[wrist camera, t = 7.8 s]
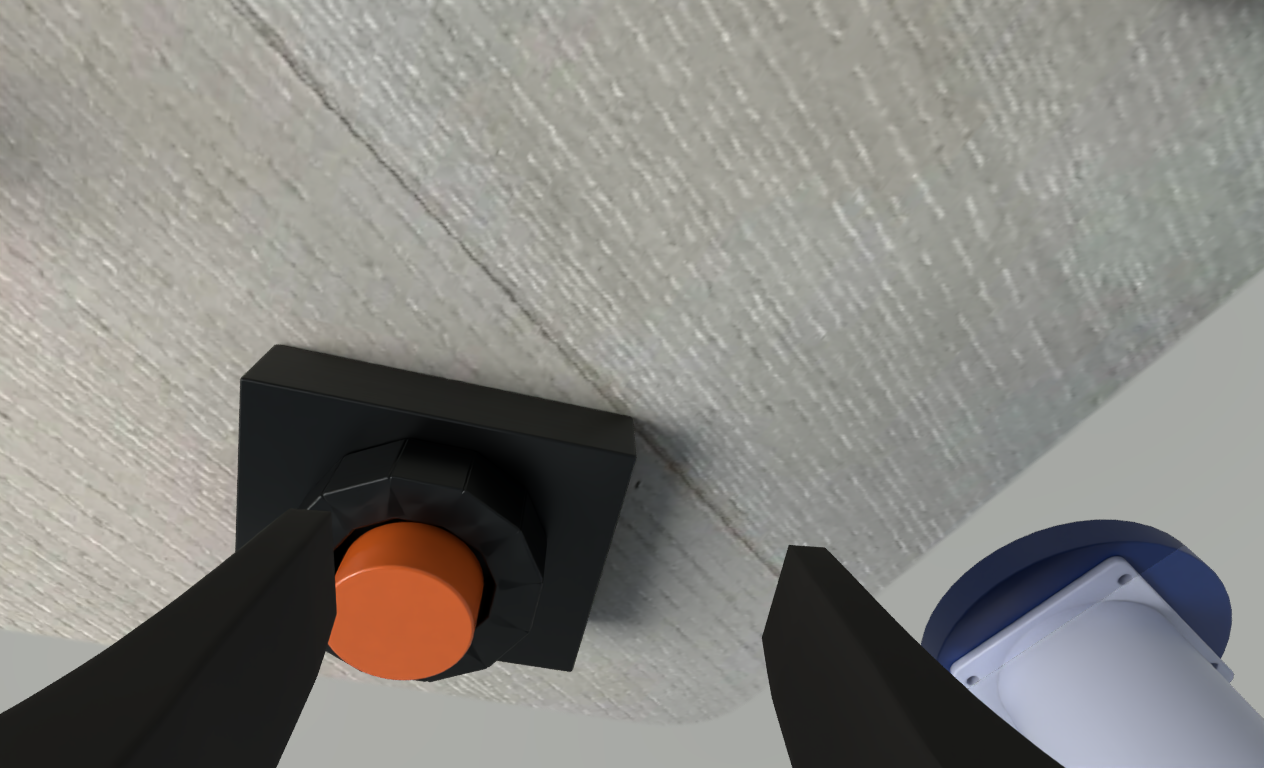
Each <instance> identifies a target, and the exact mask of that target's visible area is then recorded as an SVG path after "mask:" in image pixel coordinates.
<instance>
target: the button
mask: <svg viewBox="0 0 1264 768" xmlns="http://www.w3.org/2000/svg"><path fill="white" fill-rule="evenodd" d="M335 586H336V604H337V615H336V618H335V622H334V625H333V628H332V631H331V635H330V638H329V641H328V644H329V646H330V647H331V648H332V650H333V651H334V652H335V653H336V654H337V655H338V656H339V657H340V658H341V659H343V660H344V661H345V662H346V663H348V664H349V665H351V666H353V667H354V668H356V669H358V670H360V671H362V672H365V673H367V674H370V675H373V676H377V677H380V678H385V679H392V680H416V679H422V678H427V677H431V676H434V675H437V674H439V673H441V672H444V671H445V670H447V669H449V668H451V667H452V666H453V665H455V664H456V663H457V662H458V661H459V660H460V659H461V658H462V657H463V656H464V655H465V653H466V652H467V651H468V649H469V647H470V645H471V643H472V640H473V637H474V632H475V627H476V622H477V618H478V613H479V608H480V603H481V598H482V593H483V587H484V577H483V572H482V568H481V566H480V563H479V561H478V559H477V557H476V556H475V554H474V553H473V551H472V550H471V549H470V548H469V547H468V546H467V545H466V544H465V543H464V542H463V541H462V540H461V539H459V538H458V537H457V536H455V535H453V534H452V533H450V532H448V531H446V530H444V529H442V528H439V527H436V526H433V525H429V524H425V523H419V522H394V523H389V524H384V525H381V526H378V527H376V528H373V529H371V530H369V531H367V532H366V533H364V534H363V535H361V536H360V537H359V538H358V539H356V540H355V541H354V542H353V543H352V545H351V546H350V547H349V548H348V550H347V552H346V553H345V556H344V558H343V560H342V562H341V564H340V566H339V568H338V570H337V572H336V574H335Z"/></svg>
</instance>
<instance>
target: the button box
mask: <svg viewBox="0 0 1264 768" xmlns="http://www.w3.org/2000/svg"><path fill="white" fill-rule="evenodd" d="M636 458H637V457H636V446H635V434H634V423H633V418H631V417H627V416H623V415H618V414H613V413H608V412H603V411H598V410H593V409H589V408H584V407H579V406H574V405H569V404H564V403H559V402H555V401H550V400H545V399H540V398H535V397H530V396H525V395H521V394H516V393H511V392H506V391H501V390H496V389H491V388H487V387H482V386H477V385H472V384H467V383H462V382H457V381H453V380H448V379H443V378H438V377H433V376H428V375H423V374H419V373H414V372H409V371H404V370H399V369H394V368H389V367H385V366H380V365H375V364H370V363H365V362H360V361H355V360H351V359H346V358H341V357H336V356H331V355H326V354H321V353H317V352H312V351H307V350H302V349H297V348H292V347H287V346H283V345H274V346H273V347H272V348H271V349H270V350H269V351H268V352H267V353H266V354H265V355H264V356H263V357H262V358H261V359H260V360H259V361H258V362H257V363H256V364H255V365H254V366H253V367H252V368H251V369H250V370H249V371H248V372H247V373H245V374H244V375H243V376H242V377H241V379H240V409H239V444H238V478H237V513H236V548H235V552H236V551H238V550H239V549H240V548H241V547H242V546H244V545H245V544H246V543H247V542H249V541H250V540H251V539H252V538H253V537H255V536H256V535H257V534H258V533H260V532H261V531H262V530H263V529H264V528H266V527H267V526H268V525H269V524H271V523H272V522H273V521H274V520H276V519H277V518H278V517H279V516H281V515H282V514H283V513H285V512H286V511H287V510H289V509H304V510H317V511H331V514H332V532H333V550H334V568H335V574H336V572H337V570H338V568H339V566H340V564H341V562H342V560H343V558H344V556H345V553H346V552H347V550H348V548H349V547H350V546H351V545H352V543H353V542H354V541H355V540H356V539H358V538H359V537H360V536H361V535H363V534H364V533H366V532H367V531H369V530H371V529H373V528H376V527H378V526H381V525H384V524H389V523H394V522H419V523H425V524H429V525H433V526H436V527H439V528H442V529H444V530H446V531H448V532H450V533H452V534H453V535H455V536H457V537H458V538H459V539H461V540H462V541H463V542H464V543H465V544H466V545H467V546H468V547H469V548H470V549H471V550H472V551H473V553H474V554H475V556H476V557H477V559H478V561H479V563H480V566H481V568H482V572H483V577H484V587H483V593H482V598H481V603H480V608H479V613H478V618H477V622H476V627H475V632H474V637H473V640H472V643H471V645H470V647H469V649H468V651H467V652H466V653H465V655H464V656H463V657H462V658H461V659H460V660H459V661H458V662H457V663H456V664H455V665H453V666H452V667H451V668H449V669H447V670H445V671H444V672H441V673H439V674H437V675H434V676H431V677H427V678H422V679H416V681H423V682H426V681H428V682H433V681H437V680H441V679H445V678H449V677H454V676H458V675H462V674H466V673H470V672H474V671H479V670H483V669H486V668H487V667H490V666H491V665H492V664H493V663H495V662H496V661H502V662H508V663H515V664H521V665H528V666H535V667H541V668H548V669H554V670H561V671H567V672H571V671H572V670H573V667H574V664H575V661H576V657H577V654H578V651H579V647H580V644H581V641H582V637H583V634H584V631H585V627H586V624H587V621H588V617H589V614H590V611H591V607H592V604H593V601H594V597H595V594H596V591H597V588H598V584H599V581H600V578H601V574H602V571H603V568H604V564H605V561H606V558H607V554H608V551H609V548H610V544H611V541H612V538H613V534H614V531H615V528H616V524H617V521H618V518H619V514H620V511H621V508H622V504H623V501H624V498H625V494H626V491H627V488H628V484H629V481H630V478H631V474H632V471H633V468H634V465H635V461H636ZM326 652H328V653H330V654H332V655H333V656H335V657H337V658H339V659H340V660H342V661H344V660H343V659H341V658H340V657H339V656H338V655H337V654H336V653H335V652H334V651H333V650H332V648H331V647H330V646H329V644H328V645H327V648H326ZM344 662H345V661H344ZM345 663H346V662H345ZM347 664H348V663H347ZM352 667H353V666H352ZM359 671H360V670H359ZM361 672H362V671H361Z"/></svg>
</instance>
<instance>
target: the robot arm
mask: <svg viewBox="0 0 1264 768" xmlns="http://www.w3.org/2000/svg"><path fill="white" fill-rule="evenodd" d="M336 615H337V604H336V586H335V568H334V550H333V532H332V514H331V511H317V510H304V509H289V510H287V511H286V512H285V513H283V514H282V515H281V516H279V517H278V518H277V519H276V520H274V521H273V522H272V523H271V524H269V525H268V526H267V527H266V528H264V529H263V530H262V531H261V532H260V533H258V534H257V535H256V536H255V537H253V538H252V539H251V540H250V541H249V542H247V543H246V544H245V545H244V546H242V547H241V548H240V549H239V550H238V551H236V552H235V553H234V554H233V555H231V556H230V557H229V558H228V559H226V560H225V561H224V562H223V563H221V564H220V565H219V566H218V567H216V568H215V569H214V570H213V571H211V572H210V573H209V574H208V575H206V576H205V577H204V578H202V579H201V580H200V581H199V582H197V583H196V584H195V585H193V586H192V587H191V588H190V589H188V590H187V591H186V592H184V593H183V594H182V595H181V596H179V597H178V598H177V599H175V600H174V601H173V602H171V603H170V604H169V605H167V606H166V607H165V608H163V609H162V610H161V611H159V612H158V613H156V614H155V615H154V616H152V617H151V618H149V619H148V620H147V621H145V622H144V623H142V624H141V625H140V626H138V627H137V628H135V629H134V630H133V631H131V632H130V633H128V634H127V635H126V636H124V637H123V638H121V639H120V640H119V641H117V642H116V643H114V644H113V645H111V646H110V647H109V648H107V649H106V650H104V651H103V652H101V653H100V654H98V655H97V656H95V657H94V658H92V659H90V660H89V661H87V662H86V663H84V664H83V665H81V666H79V667H78V668H76V669H75V670H73V671H72V672H70V673H68V674H67V675H65V676H63V677H62V678H60V679H59V680H57V681H55V682H54V683H52V684H50V685H49V686H47V687H45V688H44V689H42V690H41V691H39V692H37V693H36V694H34V695H32V696H31V697H29V698H27V699H26V700H24V701H22V702H20V703H19V704H17V705H15V706H14V707H12V708H10V709H8V710H7V711H5V712H3V713H1V714H0V768H276V767H277V765H278V763H279V760H280V758H281V756H282V754H283V752H284V749H285V747H286V745H287V743H288V741H289V738H290V736H291V734H292V732H293V730H294V727H295V725H296V723H297V721H298V719H299V716H300V714H301V712H302V709H303V707H304V705H305V703H306V701H307V698H308V696H309V694H310V692H311V689H312V687H313V685H314V683H315V680H316V678H317V676H318V673H319V670H320V666H321V663H322V660H323V657H324V654H325V651H326V648H327V645H328V641H329V638H330V635H331V631H332V628H333V625H334V622H335V618H336ZM762 642H763V648H764V655H765V661H766V668H767V674H768V679H769V685H770V690H771V696H772V700H773V704H774V707H775V711H776V714H777V718H778V721H779V724H780V728H781V731H782V734H783V738H784V741H785V745H786V748H787V752H788V755H789V758H790V761H791V765H792V768H1264V719H1263V718H1262V717H1261V716H1260V715H1259V714H1258V713H1257V712H1256V710H1255V709H1254V708H1253V707H1252V706H1251V705H1250V704H1249V703H1248V702H1247V701H1246V700H1245V699H1244V698H1243V697H1242V696H1241V695H1240V694H1239V693H1238V692H1237V691H1236V690H1235V689H1234V688H1233V687H1232V686H1231V684H1230V682H1231V681H1232V680H1233V677H1234V673H1233V671H1232V670H1231V669H1229V668H1228V666H1227V665H1226V664H1225V663H1224V662H1223V661H1222V660H1221V659H1220V658H1219V657H1218V656H1217V655H1216V654H1215V653H1214V652H1213V651H1212V649H1211V648H1210V647H1209V646H1208V645H1207V644H1206V643H1205V642H1204V641H1203V640H1202V639H1201V638H1200V637H1199V636H1198V635H1197V634H1196V633H1195V632H1194V631H1193V630H1192V629H1191V628H1190V627H1189V626H1188V624H1187V623H1186V622H1185V621H1184V620H1183V619H1182V618H1181V617H1180V616H1179V615H1178V614H1177V613H1176V612H1175V611H1174V610H1173V609H1172V608H1171V607H1170V606H1169V605H1168V604H1167V603H1166V602H1165V601H1164V599H1163V598H1162V597H1161V596H1160V595H1159V594H1158V593H1157V592H1156V591H1155V590H1154V589H1153V588H1152V587H1151V586H1150V585H1149V584H1148V583H1147V582H1146V581H1145V580H1144V579H1143V578H1142V577H1141V576H1140V574H1139V573H1138V572H1137V571H1136V570H1135V569H1134V568H1133V567H1132V566H1131V565H1130V564H1129V563H1128V562H1127V561H1126V560H1125V559H1124V558H1122V557H1119V556H1114V557H1110V558H1108V559H1106V560H1104V561H1103V562H1101V563H1100V564H1098V565H1097V566H1095V567H1094V568H1093V569H1091V570H1090V571H1088V572H1087V573H1085V574H1084V575H1082V576H1081V577H1079V578H1078V579H1076V580H1075V581H1073V582H1072V583H1070V584H1069V585H1067V586H1066V587H1065V588H1063V589H1062V590H1060V591H1059V592H1057V593H1056V594H1054V595H1053V596H1051V597H1050V598H1048V599H1047V600H1045V601H1044V602H1042V603H1041V604H1040V605H1038V606H1037V607H1035V608H1034V609H1032V610H1031V611H1029V612H1028V613H1026V614H1025V615H1023V616H1022V617H1020V618H1019V619H1017V620H1016V621H1014V622H1013V623H1012V624H1010V625H1009V626H1007V627H1006V628H1004V629H1003V630H1001V631H1000V632H998V633H997V634H995V635H994V636H992V637H991V638H989V639H988V640H987V641H985V642H984V643H982V644H981V645H979V646H978V647H976V648H975V649H973V650H972V651H970V652H969V653H967V654H966V655H964V656H963V657H962V658H960V659H959V660H957V661H956V662H954V663H953V664H952V666H951V668H950V673H949V672H948V671H947V670H946V669H945V668H944V667H943V666H942V665H941V664H940V663H939V662H938V661H936V660H935V659H934V658H933V657H932V656H931V655H930V654H929V653H928V652H927V651H926V650H925V649H924V648H923V647H922V646H921V645H920V644H919V643H918V642H917V641H916V640H915V639H914V638H913V637H912V636H910V634H909V633H908V632H907V631H906V630H905V629H904V628H903V627H902V626H901V625H900V624H899V623H898V622H897V621H895V619H894V618H893V617H892V616H891V615H890V614H889V613H888V612H887V611H886V610H885V609H884V608H883V607H882V606H881V605H880V604H879V603H878V602H877V601H876V600H875V599H874V598H873V596H872V595H871V594H870V593H869V592H868V591H867V590H866V589H865V588H864V587H863V586H862V585H861V584H860V583H859V582H858V581H857V580H856V579H855V578H854V577H853V576H852V574H851V573H850V572H849V571H848V570H847V569H846V568H845V567H844V566H843V565H842V564H841V563H840V562H839V561H838V560H837V559H836V558H835V557H834V556H833V555H832V554H831V553H830V552H829V551H828V550H827V549H826V548H823V547H810V546H796V545H789V546H788V550H787V553H786V557H785V560H784V564H783V567H782V570H781V574H780V577H779V581H778V584H777V588H776V591H775V595H774V598H773V601H772V605H771V608H770V612H769V615H768V619H767V622H766V626H765V629H764V632H763V636H762Z"/></svg>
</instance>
